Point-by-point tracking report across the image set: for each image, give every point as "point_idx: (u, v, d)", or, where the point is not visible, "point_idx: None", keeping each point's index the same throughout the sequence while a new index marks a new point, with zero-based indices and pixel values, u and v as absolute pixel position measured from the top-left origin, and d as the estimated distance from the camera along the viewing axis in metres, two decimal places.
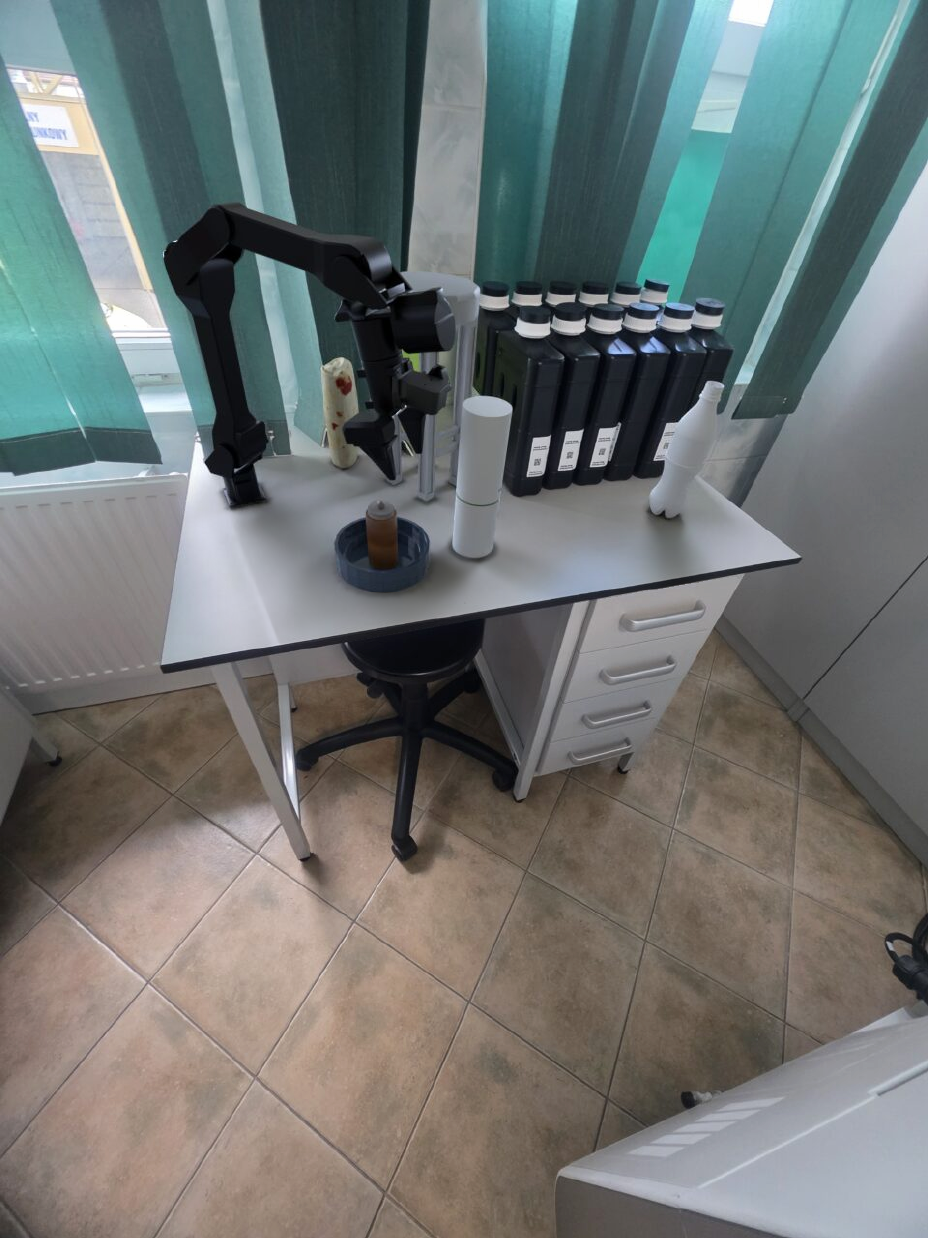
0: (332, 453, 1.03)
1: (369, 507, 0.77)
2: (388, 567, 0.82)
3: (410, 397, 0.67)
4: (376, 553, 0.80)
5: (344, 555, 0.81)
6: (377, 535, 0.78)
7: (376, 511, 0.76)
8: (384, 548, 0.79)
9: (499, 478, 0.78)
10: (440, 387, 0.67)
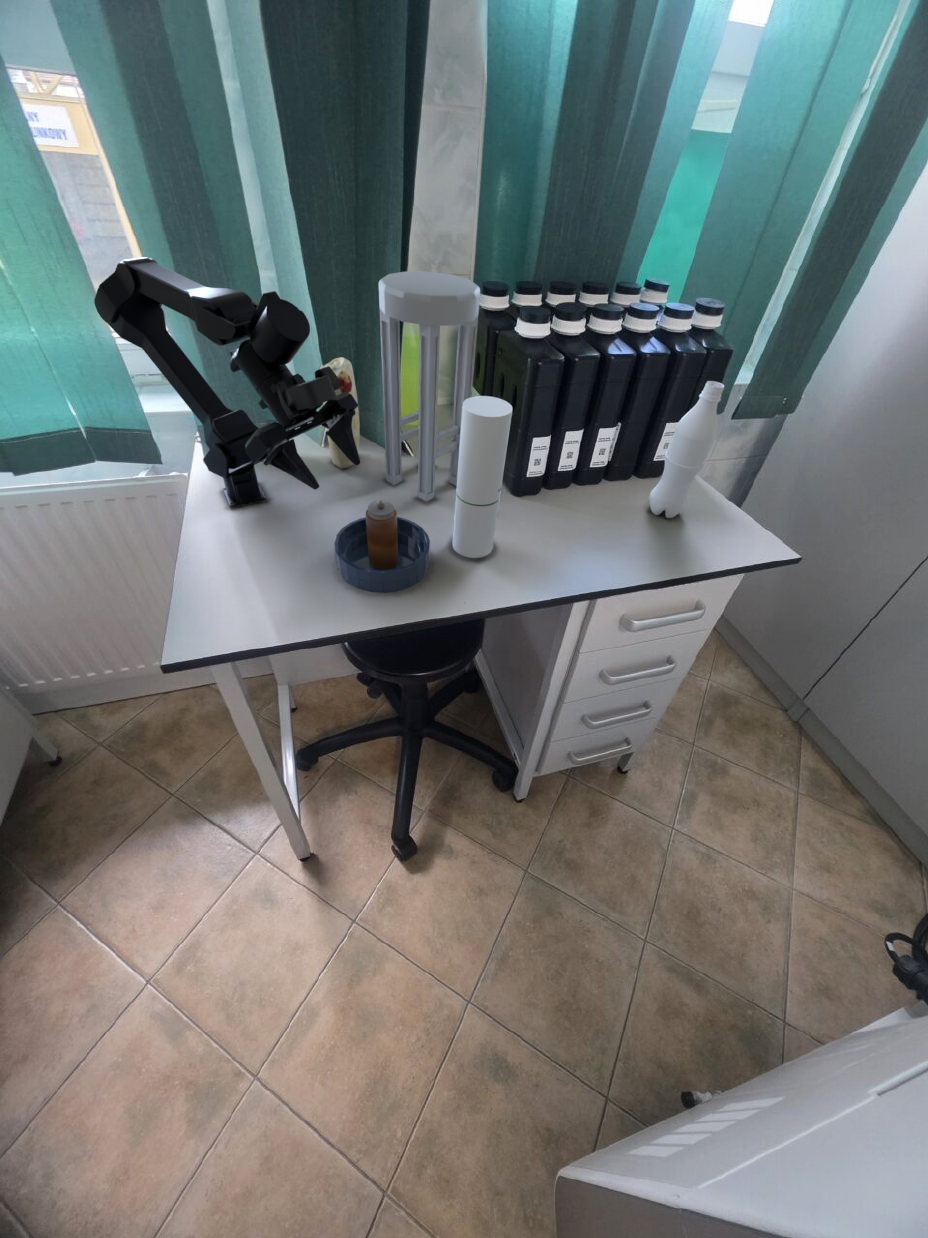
0: (332, 453, 1.03)
1: (369, 507, 0.77)
2: (388, 567, 0.82)
3: (294, 401, 0.70)
4: (376, 553, 0.80)
5: (344, 555, 0.81)
6: (377, 535, 0.78)
7: (376, 511, 0.76)
8: (384, 548, 0.79)
9: (499, 478, 0.78)
10: (315, 379, 0.69)
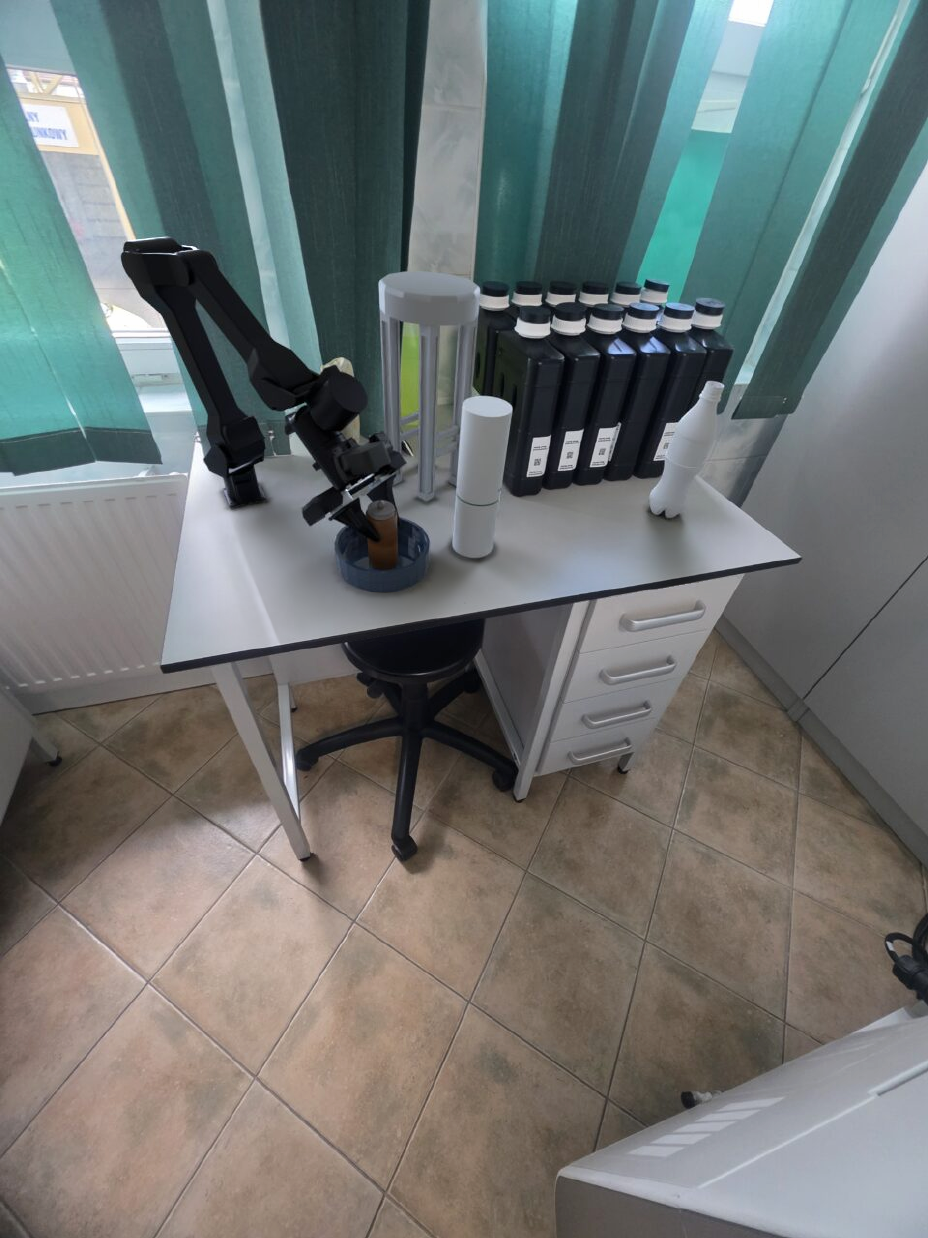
0: None
1: (369, 507, 0.77)
2: (388, 567, 0.82)
3: (350, 466, 0.72)
4: (376, 553, 0.80)
5: (344, 555, 0.81)
6: None
7: (376, 511, 0.76)
8: (384, 548, 0.79)
9: (499, 478, 0.78)
10: (371, 447, 0.70)
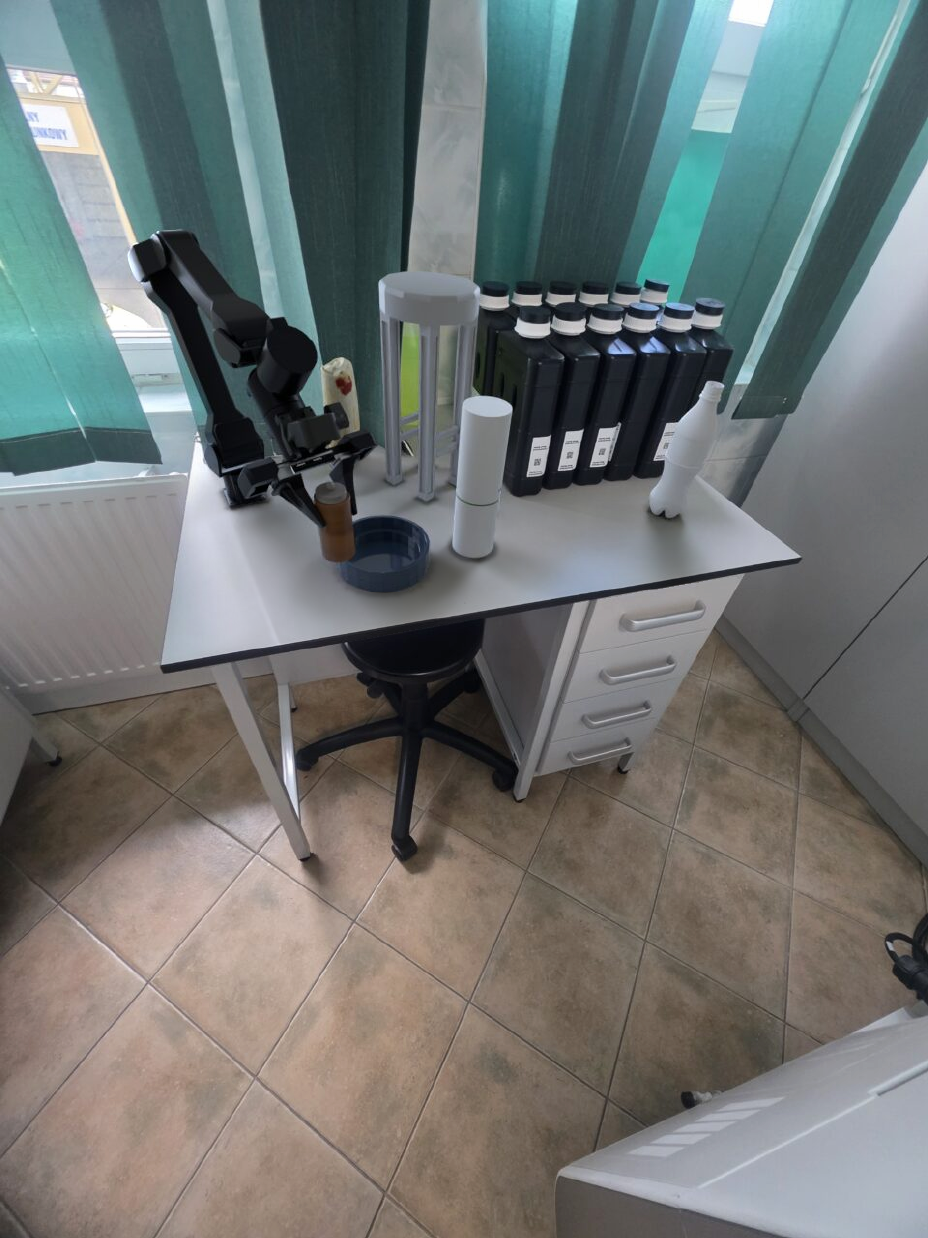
0: None
1: (318, 487, 0.67)
2: (338, 559, 0.73)
3: (293, 437, 0.63)
4: (324, 540, 0.71)
5: None
6: None
7: (323, 493, 0.66)
8: (331, 537, 0.70)
9: (499, 478, 0.78)
10: (315, 416, 0.61)
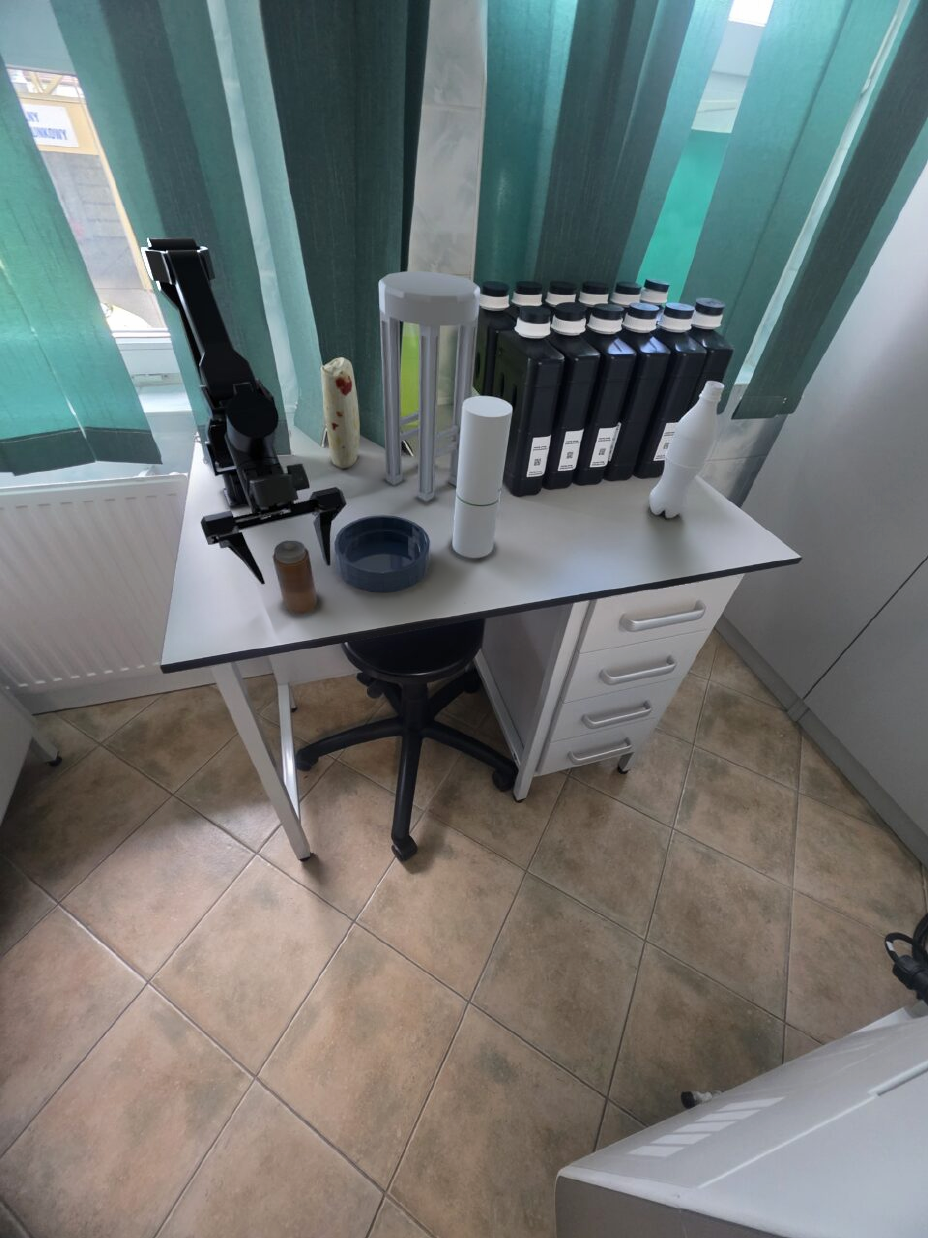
0: (332, 453, 1.03)
1: (278, 545, 0.69)
2: (296, 612, 0.74)
3: (253, 494, 0.65)
4: (283, 594, 0.73)
5: (344, 555, 0.81)
6: (280, 577, 0.70)
7: (280, 552, 0.68)
8: (288, 592, 0.72)
9: (499, 478, 0.78)
10: (271, 478, 0.62)
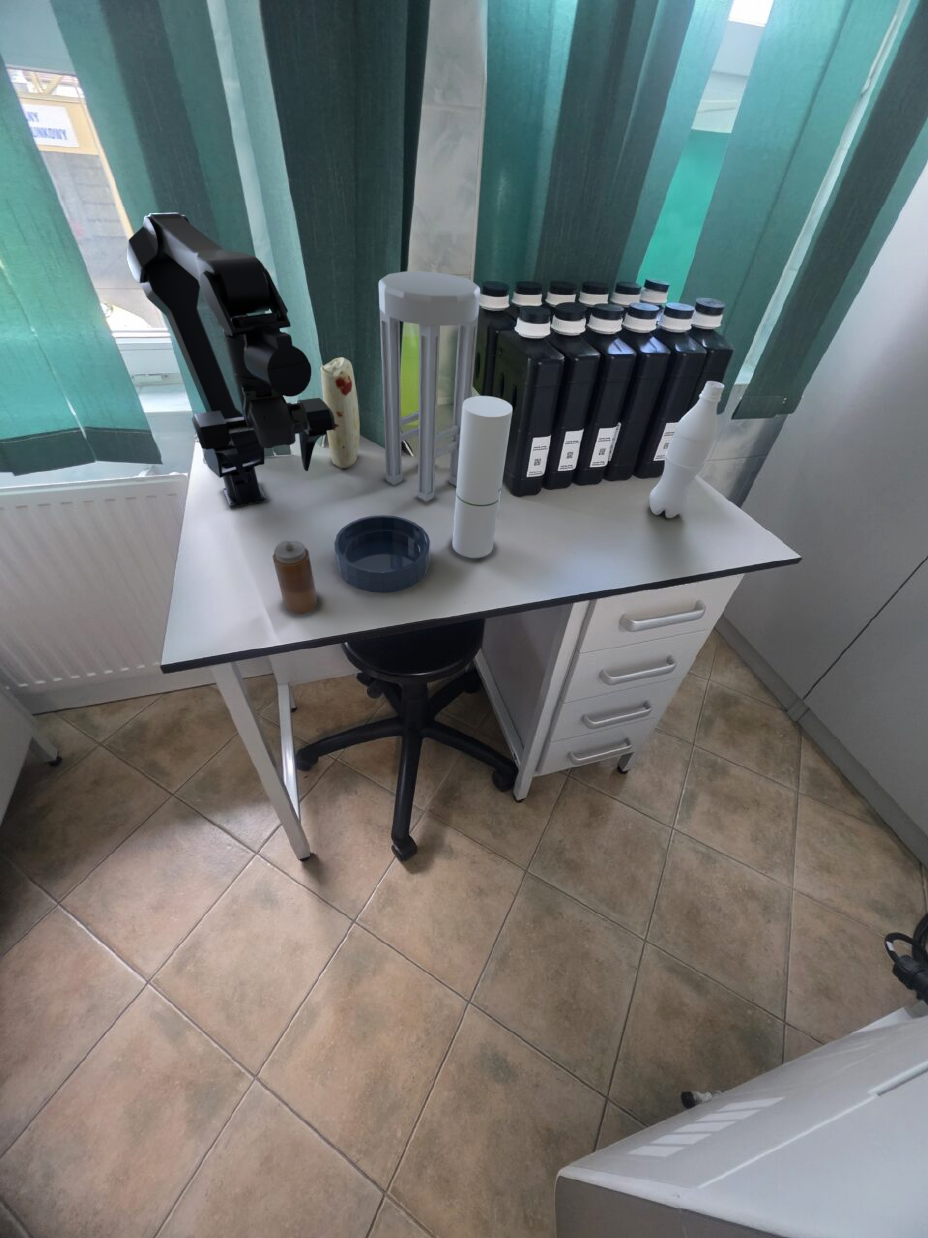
0: (332, 453, 1.03)
1: (278, 545, 0.69)
2: (296, 612, 0.74)
3: (252, 421, 0.68)
4: (283, 594, 0.73)
5: (344, 555, 0.81)
6: (280, 577, 0.70)
7: (280, 552, 0.68)
8: (288, 592, 0.72)
9: (499, 478, 0.78)
10: (275, 426, 0.66)
